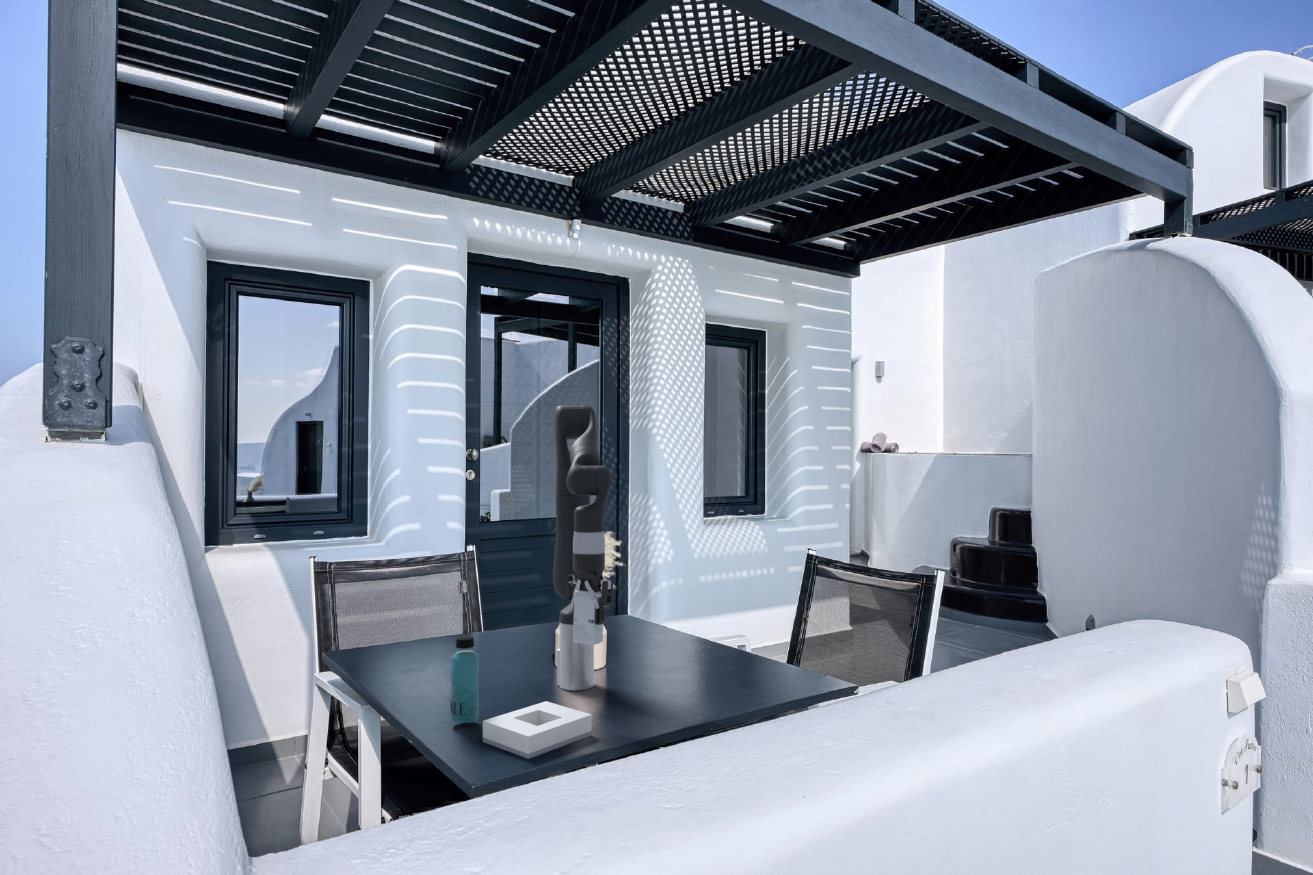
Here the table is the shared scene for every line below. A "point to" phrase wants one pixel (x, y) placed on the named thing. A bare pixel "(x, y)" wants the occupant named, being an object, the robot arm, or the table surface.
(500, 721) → the white flat block
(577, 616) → the skincare box
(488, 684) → the table surface
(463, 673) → the beverage bottle
